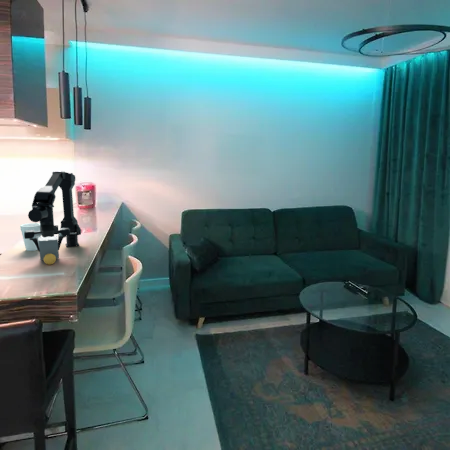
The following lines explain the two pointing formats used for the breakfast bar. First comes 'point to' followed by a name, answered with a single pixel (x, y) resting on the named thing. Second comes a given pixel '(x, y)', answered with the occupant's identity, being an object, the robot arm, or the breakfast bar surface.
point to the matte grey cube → (48, 246)
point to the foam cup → (29, 243)
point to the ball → (49, 259)
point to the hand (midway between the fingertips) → (49, 250)
